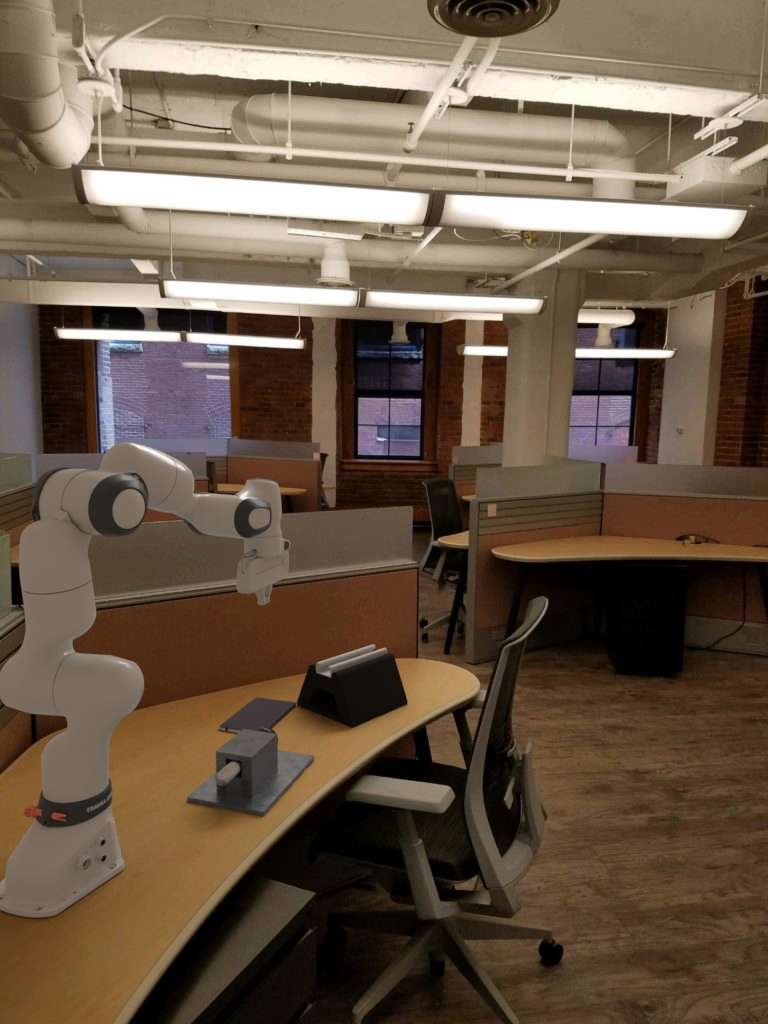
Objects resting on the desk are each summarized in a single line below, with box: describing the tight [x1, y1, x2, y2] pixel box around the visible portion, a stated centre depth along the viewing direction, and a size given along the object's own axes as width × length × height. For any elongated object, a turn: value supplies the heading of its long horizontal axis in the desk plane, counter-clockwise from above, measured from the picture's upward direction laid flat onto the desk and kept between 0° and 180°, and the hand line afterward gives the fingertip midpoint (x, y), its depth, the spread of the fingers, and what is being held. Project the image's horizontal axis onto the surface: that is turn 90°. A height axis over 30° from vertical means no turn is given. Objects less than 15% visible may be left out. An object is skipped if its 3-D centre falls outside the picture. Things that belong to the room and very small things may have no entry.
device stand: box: [296, 643, 409, 729], centre depth 202 cm, size 22×22×15 cm
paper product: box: [219, 697, 297, 734], centre depth 194 cm, size 13×2×21 cm
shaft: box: [215, 726, 279, 786], centre depth 155 cm, size 20×6×6 cm, turn 162°
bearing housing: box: [186, 729, 315, 817], centre depth 159 cm, size 26×18×10 cm
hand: (263, 603), depth 169 cm, fingers closed
